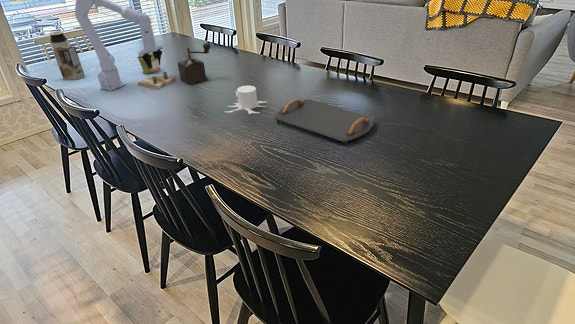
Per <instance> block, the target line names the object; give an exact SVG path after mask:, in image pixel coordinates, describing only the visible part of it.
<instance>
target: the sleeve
mask: <svg viewBox="0 0 575 324" xmlns="http://www.w3.org/2000/svg"><path fill="white" fill-rule="evenodd" d="M151 63H152V69H150V68H149V69H150V71H155V72H157V71H160V70H161V67H160V66H161V65H159V61H158V59H156V58H153V59H151Z"/></svg>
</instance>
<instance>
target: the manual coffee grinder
mask: <svg viewBox="0 0 575 324" xmlns="http://www.w3.org/2000/svg"><path fill="white" fill-rule="evenodd" d="M211 47H212V46H211V44H210V43H207V42H205V43H203V44H202V48H203V51H195V50H194V51H192V50H190V48H189V47H187V48H186V53H187V56H188V58H186V59H184V60H183V61H177V68H178V74H179V80H180V81H181V82H183V83H184V84H186V85H188V86H190V85H194V84H198V83H201V82H204V81H207V80H208V79H207V76H206V68H205V63H204V62H203V61H202V60H199V59H197V58H193V57H191V54H201V55H202V54H203V55H205V54H206V55H207V54H210V49H211Z"/></svg>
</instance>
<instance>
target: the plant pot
mask: <svg viewBox="0 0 575 324" xmlns="http://www.w3.org/2000/svg"><path fill="white" fill-rule="evenodd" d="M148 55H151V59H153V58H154V56H153V53H149V54H148ZM136 58H137V60H138V61H139V63H140V66H141V68H142V70H143V73H145V74H152V73H155V72H156V71H150V69H149V68H148V66H147V64H146V62H145V61H144V60H143V58H142V57H141V56H139V55H138V56H137V57H136Z"/></svg>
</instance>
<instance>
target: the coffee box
mask: <svg viewBox="0 0 575 324" xmlns="http://www.w3.org/2000/svg"><path fill="white" fill-rule="evenodd" d="M52 52H53V55H54V58H55V60H56V63H57V66H58V68H59V70H60V71H59V72H60V74H61V76H62V79H63V81H64V80H80V79H82V78H83V77H85V76H86V75H85V72H84V69H83V66H82V63H81V61H80V57H79V54H78V52H77V48H76V46H71V45H68V46H66V47H58V48H56V49H54V48H53V49H52Z"/></svg>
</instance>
